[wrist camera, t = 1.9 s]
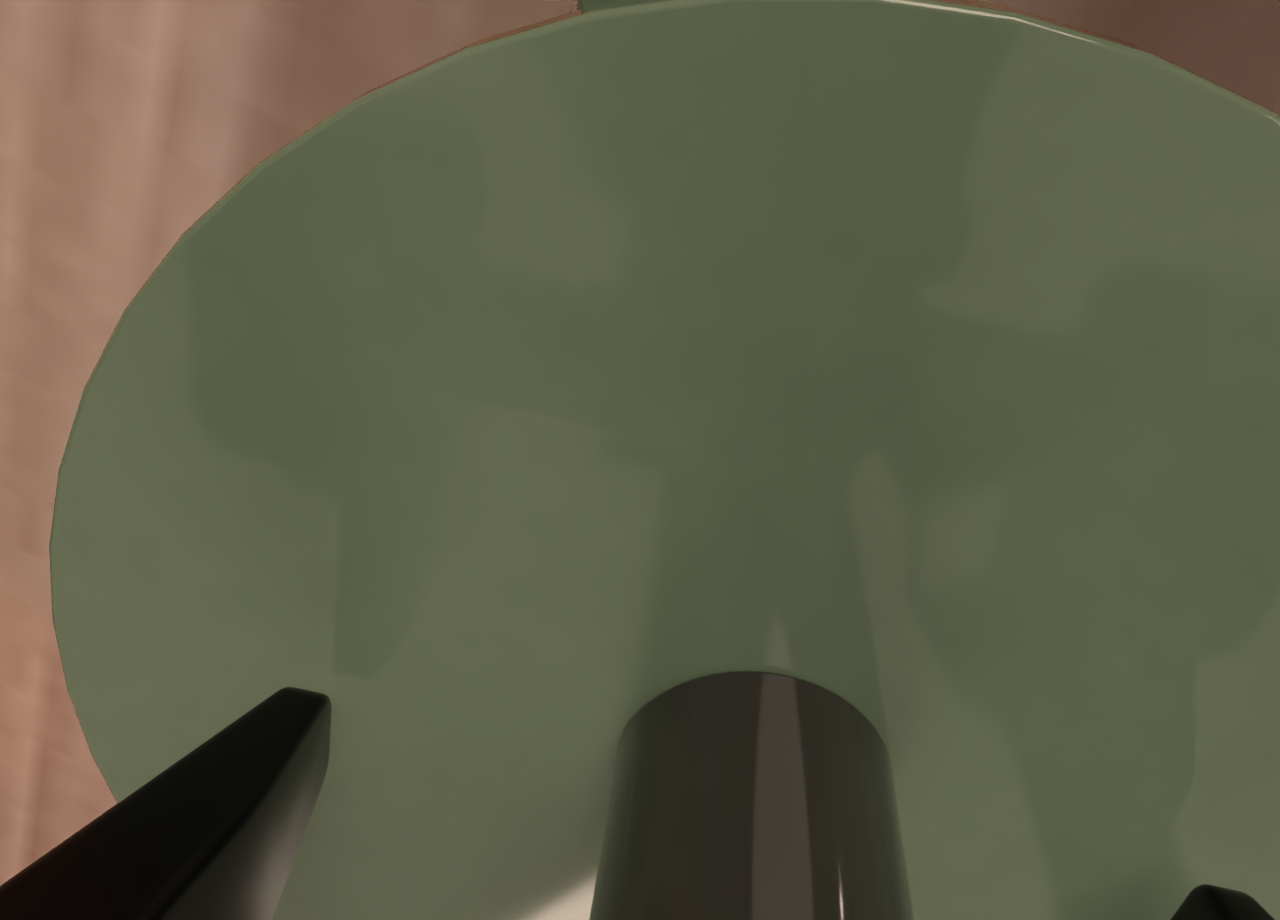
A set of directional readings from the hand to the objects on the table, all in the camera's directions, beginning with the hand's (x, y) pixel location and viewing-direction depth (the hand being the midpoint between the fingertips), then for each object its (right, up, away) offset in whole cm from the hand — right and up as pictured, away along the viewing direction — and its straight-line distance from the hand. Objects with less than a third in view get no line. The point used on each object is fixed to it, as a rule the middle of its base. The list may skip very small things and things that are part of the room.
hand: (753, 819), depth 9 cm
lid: (0, +1, +1) cm, 1 cm away
